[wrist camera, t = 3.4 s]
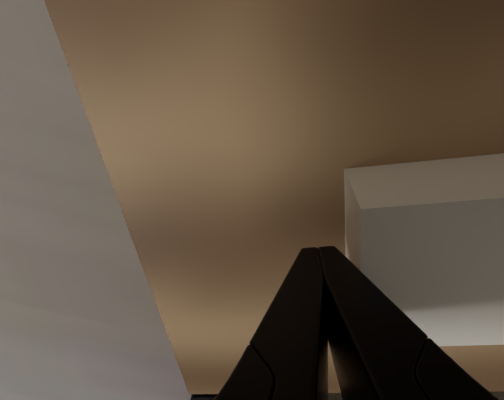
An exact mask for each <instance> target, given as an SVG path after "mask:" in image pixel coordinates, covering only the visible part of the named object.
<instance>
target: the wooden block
mask: <svg viewBox="0 0 504 400" xmlns="http://www.w3.org/2000/svg"><path fill="white" fill-rule="evenodd" d="M44 1H45V3H46V6H47V9H48V12H49V14H50V17H51V20H52V22H53V25H54V28H55V31H56V33H57V36H58V39H59V41H60V44H61V47H62V50H63V52H64V55H65V58H66V60H67V63H68V66H69V69H70V71H71V74H72V77H73V80H74V82H75V85H76V88H77V90H78V93H79V96H80V99H81V101H82V104H83V107H84V109H85V112H86V115H87V118H88V120H89V123H90V126H91V128H92V131H93V134H94V137H95V139H96V142H97V145H98V147H99V150H100V153H101V156H102V158H103V161H104V164H105V166H106V169H107V172H108V175H109V177H110V180H111V183H112V186H113V188H114V191H115V194H116V196H117V199H118V202H119V205H120V207H121V210H122V213H123V215H124V218H125V221H126V224H127V226H128V229H129V232H130V234H131V237H132V240H133V243H134V245H135V248H136V251H137V253H138V256H139V259H140V262H141V264H142V267H143V270H144V272H145V275H146V278H147V281H148V283H149V286H150V289H151V292H152V294H153V297H154V300H155V302H156V305H157V308H158V311H159V313H160V316H161V319H162V321H163V324H164V327H165V330H166V332H167V335H168V338H169V340H170V343H171V346H172V349H173V351H174V354H175V357H176V359H177V362H178V365H179V368H180V370H181V373H182V376H183V378H184V381H185V384H186V387H187V389H188V392H189V394H218V393H219V392H220V390H221V389H222V387H223V386H224V384H225V383H226V381H227V380H228V378H229V377H230V375H231V373H232V372H233V370H234V368H235V367H236V365H237V363H238V362H239V360H240V358H241V356H242V354H243V353H244V351H245V349H246V347H247V346H248V345H250V344H249V342H250V340H251V339H252V337H253V335H254V333H255V331H256V329H257V328H258V326H259V324H260V322H261V320H262V319H263V317H264V315H265V313H266V311H267V310H268V308H269V306H270V304H271V302H272V301H273V299H274V297H275V295H276V293H277V292H278V290H279V288H280V286H281V284H282V283H283V281H284V279H285V277H286V275H287V273H288V272H289V270H290V268H291V266H292V264H293V263H294V261H295V259H296V257H297V255H298V254H299V252H300V250H301V249H302V248H308V247H317V248H319V247H321V246H335V247H336V248H337V249H338V250H340V251H341V252H342V253H343V254H344V255H345V256H346V254H345V189H344V169H347V168H357V167H368V166H378V165H388V164H398V163H409V162H419V161H429V160H439V159H450V158H460V157H470V156H480V155H491V154H501V153H504V0H44ZM439 347H440V348H441V349H442V350H443V351H444V352H445V353H446V354H447V355H448V356H450V357H451V358H452V359H453V360H454V361H455V362H456V363H457V364H458V365H459V366H460V367H462V368H463V369H464V370H465V371H466V372H467V373H468V374H469V375H470V376H472V377H473V378H474V379H475V380H476V381H478V382H479V383H480V384H481V385H482V386H483V387H485V388H486V389H487V390H488V391H489V392H500V391H504V345H471V346H439ZM328 393H341V390H340V386H339V382H338V379H337V375H336V371H335V367H334V363H333V359H332V355H331V351H330V347H329V343H328Z"/></svg>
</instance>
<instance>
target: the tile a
mask: <svg viewBox="0 0 504 400" xmlns="http://www.w3.org/2000/svg"><path fill="white" fill-rule="evenodd" d="M344 189H345V254H346V257H347V258H348V259H349V260H350V261H351V262H352V263H353V264H354V265H355V266H356V267H357V268H358V269H359V270H360V271H361V272H362V273H363V274H364V275H365V276H366V277H367V278H368V279H370V280H371V281H372V282H373V283H374V284H375V285H376V286H377V287H378V288H379V289H380V290H381V291H382V292H383V293H384V294H385V295H386V296H387V297H388V298H389V299H390V300H391V301H392V302H393V303H394V304H395V305H396V306H397V307H398V308H400V309H401V310H402V311H403V312H404V313H405V314H406V315H407V316H408V317H409V318H410V319H411V320H412V321H413V322H414V323H415V324H416V325H417V326H418V327H419V328H420V329H421V330H422V331H423V332H424V333H425V334H426V335H427V336H428V338H430V339H432V340H433V341H434V342H435V343H436V344H437V345H438V346H471V345H504V153H501V154H491V155H480V156H470V157H460V158H450V159H439V160H429V161H419V162H409V163H398V164H388V165H378V166H368V167H357V168H347V169H344Z"/></svg>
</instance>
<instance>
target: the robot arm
mask: <svg viewBox="0 0 504 400" xmlns="http://www.w3.org/2000/svg"><path fill="white" fill-rule="evenodd" d="M328 343H329V347H330V351H331V355H332V359H333V363H334V367H335V371H336V375H337V379H338V382H339V386H340V390H341V394H342V398H343V400H499V399H498V398H497V397H495V396H494V395H493V394H492V393H491V392H489V391H488V390H487V389H486V388H485V387H483V386H482V385H481V384H480V383H479V382H478V381H476V380H475V379H474V378H473V377H472V376H470V375H469V374H468V373H467V372H466V371H465V370H464V369H463V368H462V367H460V366H459V365H458V364H457V363H456V362H455V361H454V360H453V359H452V358H451V357H450V356H448V355H447V354H446V353H445V352H444V351H443V350H442V349H441V348H440V347H439V346H438V345H437V344H436V343H435V342H434V341H433V340H432V339H430V338H428V336H427V335H426V334H425V333H424V332H423V331H422V330H421V329H420V328H419V327H418V326H417V325H416V324H415V323H414V322H413V321H412V320H411V319H410V318H409V317H408V316H407V315H406V314H405V313H404V312H403V311H402V310H401V309H400V308H398V307H397V306H396V305H395V304H394V303H393V302H392V301H391V300H390V299H389V298H388V297H387V296H386V295H385V294H384V293H383V292H382V291H381V290H380V289H379V288H378V287H377V286H376V285H375V284H374V283H373V282H372V281H371V280H370V279H368V278H367V277H366V276H365V275H364V274H363V273H362V272H361V271H360V270H359V269H358V268H357V267H356V266H355V265H354V264H353V263H352V262H351V261H350V260H349V259H348V258H347V257H346V256H345V255H344V254H343V253H342V252H341V251H340V250H338V249H337V248H336V247H335V246H321V247H319V248H317V247H308V248H302V249H301V250H300V252H299V254H298V255H297V257H296V259H295V261H294V263H293V264H292V266H291V268H290V270H289V272H288V273H287V275H286V277H285V279H284V281H283V283H282V284H281V286H280V288H279V290H278V292H277V293H276V295H275V297H274V299H273V301H272V302H271V304H270V306H269V308H268V310H267V311H266V313H265V315H264V317H263V319H262V320H261V322H260V324H259V326H258V328H257V329H256V331H255V333H254V335H253V337H252V339H251V340H250V342H249V344H250V345H248V346H247V347H246V349H245V351H244V353H243V354H242V356H241V358H240V360H239V362H238V363H237V365H236V367H235V368H234V370H233V372H232V373H231V375H230V377H229V378H228V380H227V381H226V383H225V384H224V386H223V387H222V389H221V390H220V392H219V393H218V394H192V396H191V400H328Z"/></svg>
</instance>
